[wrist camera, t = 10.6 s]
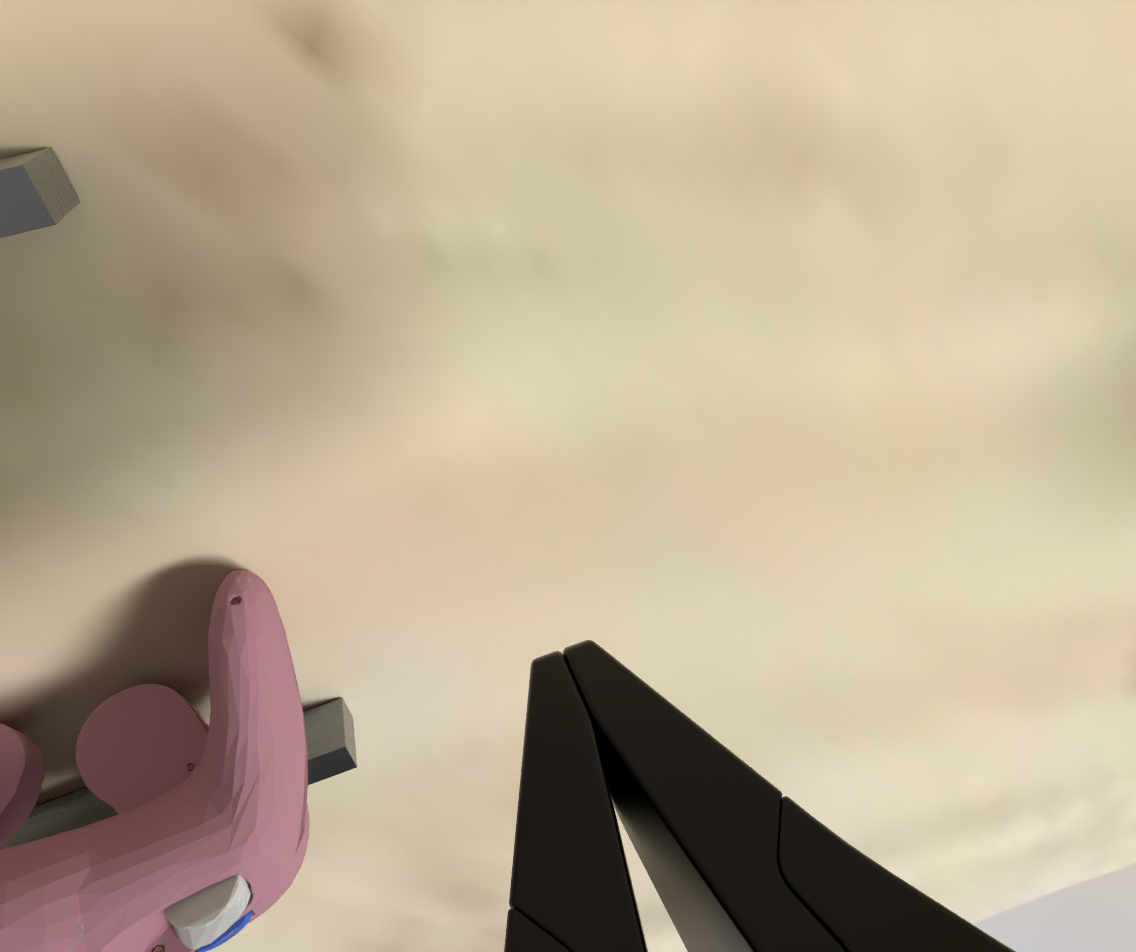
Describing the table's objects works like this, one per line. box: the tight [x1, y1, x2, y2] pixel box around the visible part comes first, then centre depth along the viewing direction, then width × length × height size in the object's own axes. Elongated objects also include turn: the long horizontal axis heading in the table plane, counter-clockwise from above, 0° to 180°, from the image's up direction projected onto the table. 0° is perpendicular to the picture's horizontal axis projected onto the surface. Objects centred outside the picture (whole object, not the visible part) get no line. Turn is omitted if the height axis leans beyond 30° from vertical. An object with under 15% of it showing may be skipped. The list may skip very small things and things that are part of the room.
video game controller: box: [0, 570, 309, 952], centre depth 14 cm, size 10×5×7 cm, turn 91°
